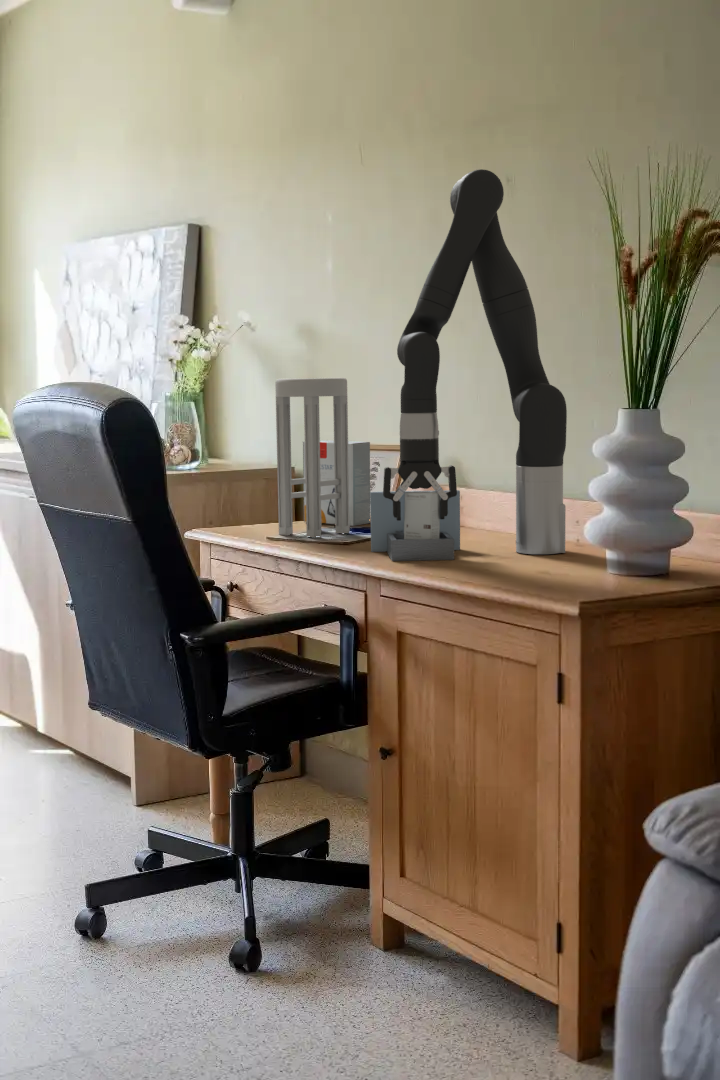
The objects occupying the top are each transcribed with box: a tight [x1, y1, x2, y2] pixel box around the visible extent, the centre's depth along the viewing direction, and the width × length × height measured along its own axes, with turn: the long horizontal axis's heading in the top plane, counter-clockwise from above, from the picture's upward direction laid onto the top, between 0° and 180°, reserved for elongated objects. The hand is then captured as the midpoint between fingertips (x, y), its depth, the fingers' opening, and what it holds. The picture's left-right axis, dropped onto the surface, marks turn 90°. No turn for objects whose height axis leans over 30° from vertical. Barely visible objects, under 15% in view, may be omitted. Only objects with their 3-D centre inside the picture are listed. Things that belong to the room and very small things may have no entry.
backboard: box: [370, 489, 461, 553], centre depth 263 cm, size 18×2×12 cm, turn 93°
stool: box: [275, 377, 351, 537], centre depth 293 cm, size 16×16×35 cm
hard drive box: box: [302, 439, 371, 527], centre depth 316 cm, size 16×8×20 cm, turn 53°
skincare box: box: [404, 490, 440, 539], centre depth 254 cm, size 6×4×12 cm
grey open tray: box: [386, 530, 455, 562], centre depth 256 cm, size 12×14×4 cm
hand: (420, 519), depth 254 cm, fingers open, 8 cm apart
